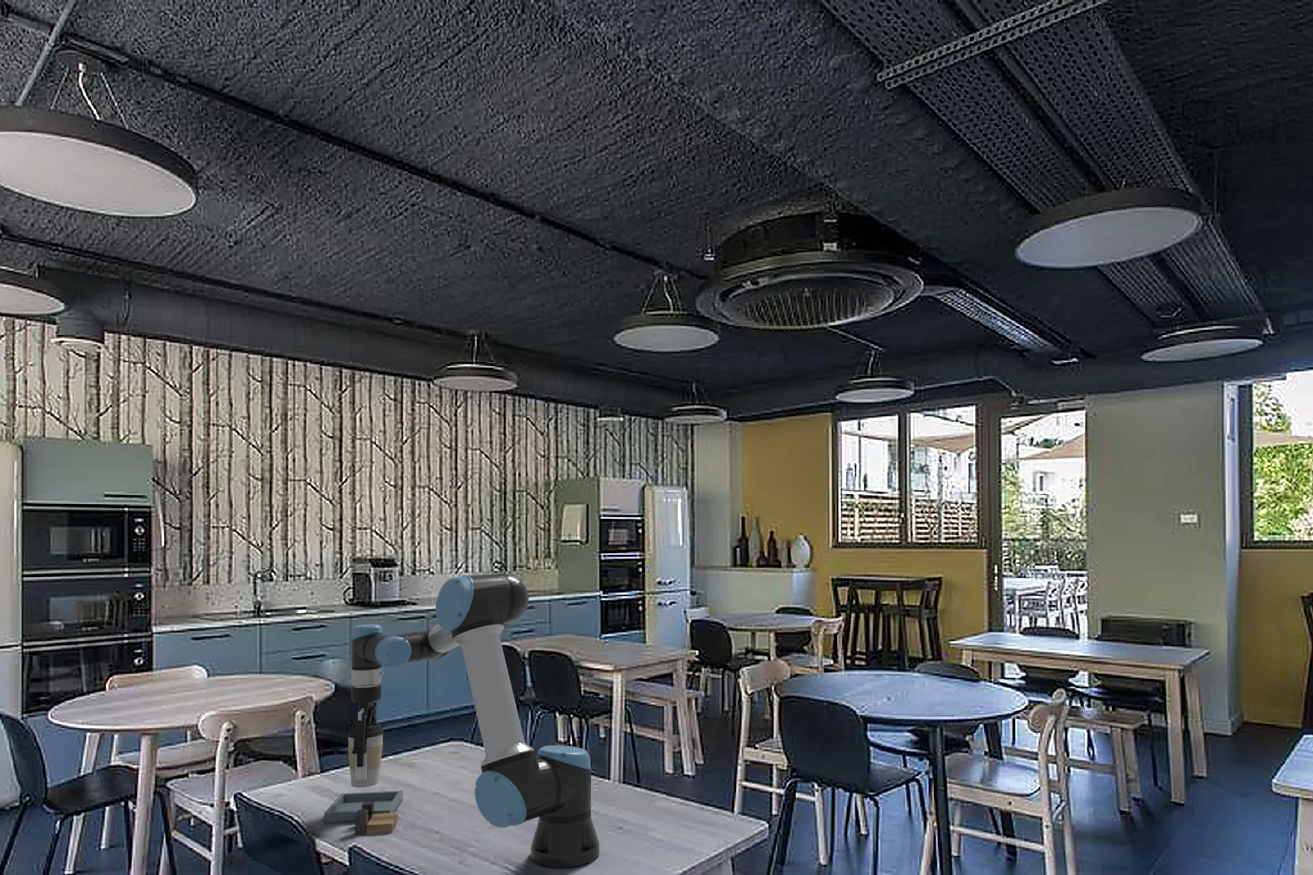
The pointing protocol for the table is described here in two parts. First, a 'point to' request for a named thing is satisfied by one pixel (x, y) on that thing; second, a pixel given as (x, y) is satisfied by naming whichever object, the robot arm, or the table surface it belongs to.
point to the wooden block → (382, 823)
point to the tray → (352, 802)
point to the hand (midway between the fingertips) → (365, 773)
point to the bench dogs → (363, 817)
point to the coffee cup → (373, 755)
